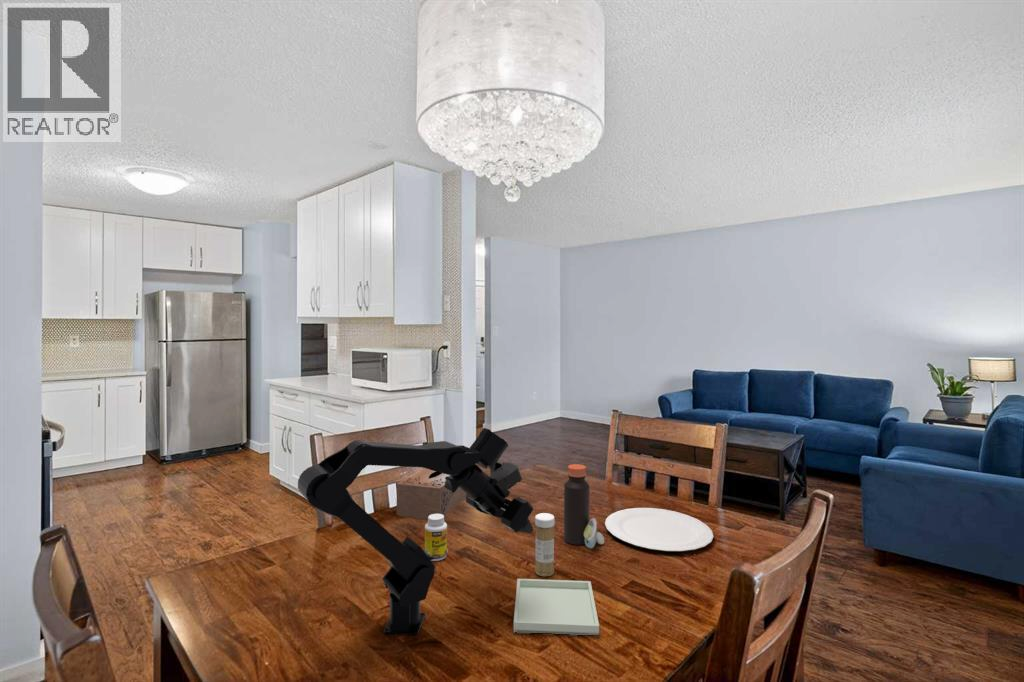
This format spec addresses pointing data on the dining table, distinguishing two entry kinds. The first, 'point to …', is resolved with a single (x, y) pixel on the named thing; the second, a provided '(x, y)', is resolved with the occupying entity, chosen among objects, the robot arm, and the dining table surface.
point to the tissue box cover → (426, 495)
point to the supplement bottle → (436, 537)
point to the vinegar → (576, 505)
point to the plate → (659, 529)
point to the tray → (555, 607)
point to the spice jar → (544, 544)
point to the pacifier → (592, 534)
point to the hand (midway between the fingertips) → (519, 524)
